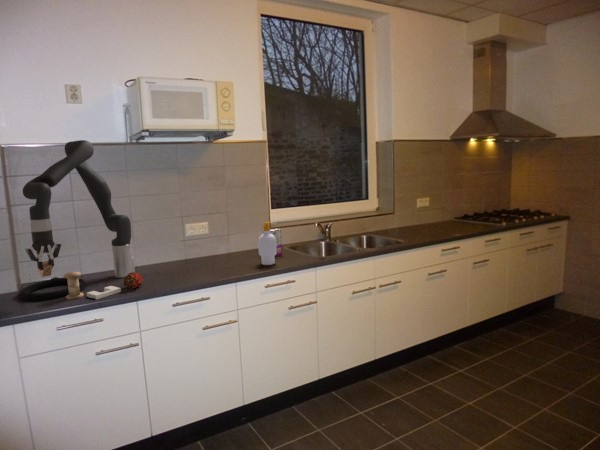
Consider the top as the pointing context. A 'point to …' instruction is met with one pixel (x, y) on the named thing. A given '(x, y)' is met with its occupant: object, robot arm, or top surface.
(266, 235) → the soap bottle
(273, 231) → the candy bar box
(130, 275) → the dragon fruit
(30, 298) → the cable lock
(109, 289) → the notch board
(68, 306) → the top surface
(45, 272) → the brown wooden block
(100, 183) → the robot arm
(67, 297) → the bobbin
